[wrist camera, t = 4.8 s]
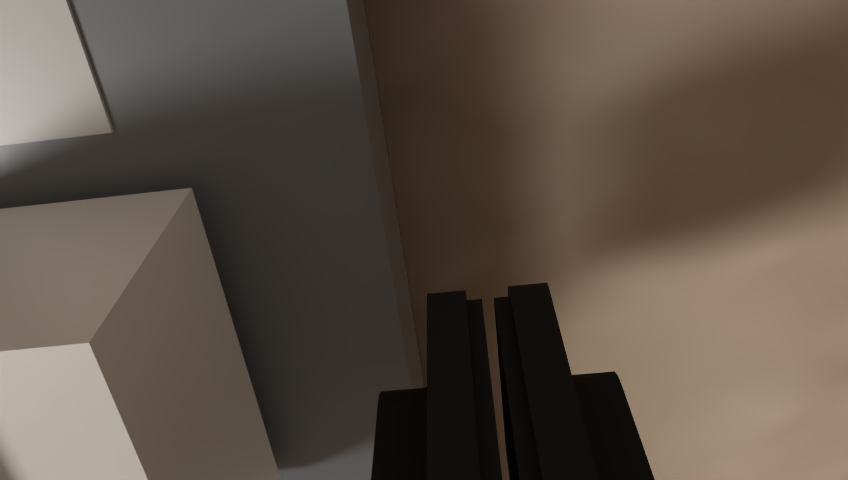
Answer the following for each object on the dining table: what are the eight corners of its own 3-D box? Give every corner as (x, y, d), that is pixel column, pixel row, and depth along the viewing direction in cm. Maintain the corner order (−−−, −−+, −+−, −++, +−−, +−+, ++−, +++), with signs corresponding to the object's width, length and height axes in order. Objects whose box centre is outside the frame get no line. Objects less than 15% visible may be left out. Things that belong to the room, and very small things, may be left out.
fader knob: (191, 187, 10) (75, 362, 7) (284, 491, 13) (234, 718, 10) (-83, 218, 10) (-324, 401, 7) (68, 508, 13) (-52, 734, 10)
